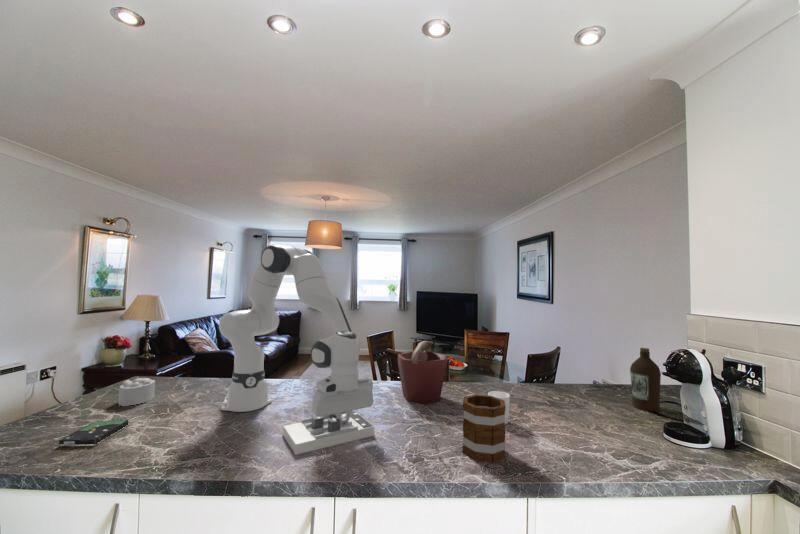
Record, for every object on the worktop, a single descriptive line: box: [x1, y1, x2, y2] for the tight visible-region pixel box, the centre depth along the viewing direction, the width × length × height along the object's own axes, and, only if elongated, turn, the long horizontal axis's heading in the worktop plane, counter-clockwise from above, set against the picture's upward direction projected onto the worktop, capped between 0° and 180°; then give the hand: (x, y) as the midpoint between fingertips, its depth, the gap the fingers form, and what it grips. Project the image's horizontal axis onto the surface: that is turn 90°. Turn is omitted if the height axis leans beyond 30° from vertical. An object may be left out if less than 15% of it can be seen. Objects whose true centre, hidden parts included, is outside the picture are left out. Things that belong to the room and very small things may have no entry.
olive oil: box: [629, 347, 662, 412], centre depth 145 cm, size 11×11×25 cm
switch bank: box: [282, 411, 375, 456], centre depth 113 cm, size 15×26×4 cm, turn 122°
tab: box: [328, 418, 341, 432], centre depth 108 cm, size 3×3×4 cm
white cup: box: [487, 390, 511, 425], centre depth 127 cm, size 8×8×10 cm
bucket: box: [397, 340, 448, 406], centre depth 152 cm, size 24×22×25 cm
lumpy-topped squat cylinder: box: [118, 377, 156, 406], centre depth 141 cm, size 10×13×9 cm
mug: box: [462, 393, 506, 464], centre depth 107 cm, size 20×14×15 cm
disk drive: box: [58, 419, 129, 445], centre depth 109 cm, size 10×3×15 cm
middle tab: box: [311, 415, 324, 429], centre depth 111 cm, size 3×3×4 cm
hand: (343, 424), depth 110 cm, fingers closed
